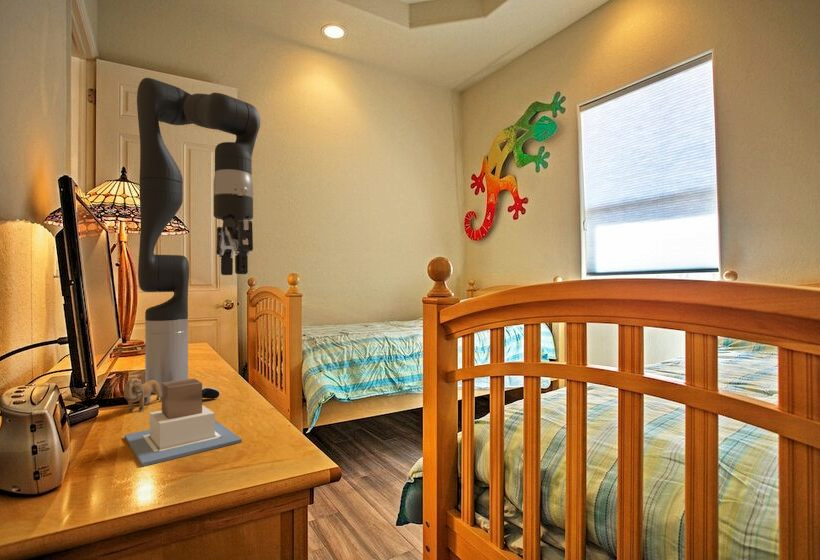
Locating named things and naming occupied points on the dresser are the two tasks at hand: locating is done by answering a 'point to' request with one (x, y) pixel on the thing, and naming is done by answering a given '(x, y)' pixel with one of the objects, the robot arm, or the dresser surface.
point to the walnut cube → (181, 398)
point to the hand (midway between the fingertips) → (233, 274)
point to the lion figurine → (140, 392)
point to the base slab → (181, 428)
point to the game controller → (210, 392)
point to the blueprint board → (152, 454)
